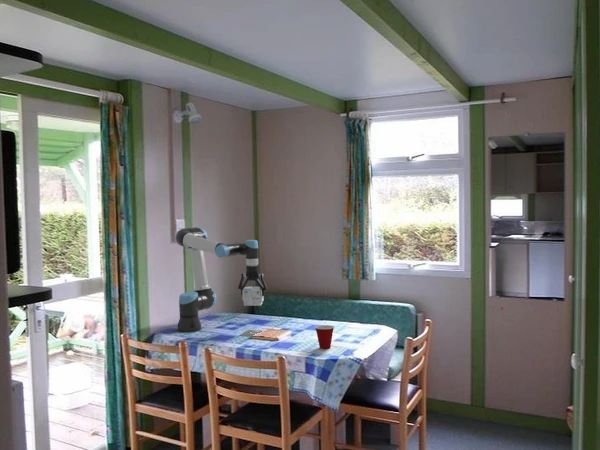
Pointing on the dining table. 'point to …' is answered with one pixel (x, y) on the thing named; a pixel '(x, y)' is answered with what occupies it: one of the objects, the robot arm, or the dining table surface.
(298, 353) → the dining table surface
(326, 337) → the plastic cup
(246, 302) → the light bulb box
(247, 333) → the tile
